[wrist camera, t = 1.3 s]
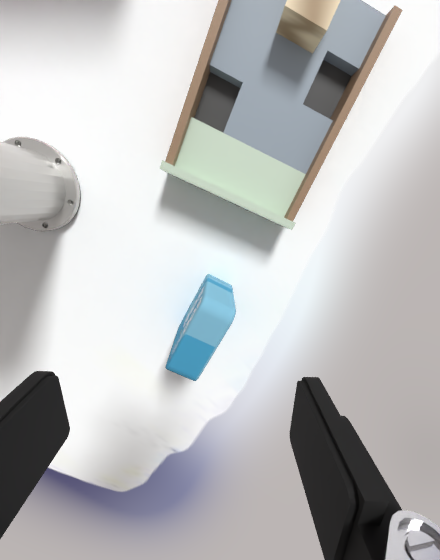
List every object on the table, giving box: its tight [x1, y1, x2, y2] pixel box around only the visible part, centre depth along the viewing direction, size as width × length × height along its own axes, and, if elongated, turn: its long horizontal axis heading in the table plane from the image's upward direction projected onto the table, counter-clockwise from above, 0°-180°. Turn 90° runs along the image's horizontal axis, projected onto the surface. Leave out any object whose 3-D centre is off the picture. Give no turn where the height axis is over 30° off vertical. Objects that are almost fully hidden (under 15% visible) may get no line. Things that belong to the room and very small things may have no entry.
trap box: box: [160, 0, 402, 230], centre depth 30 cm, size 19×26×5 cm
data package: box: [166, 274, 236, 381], centre depth 35 cm, size 12×4×12 cm, turn 152°
